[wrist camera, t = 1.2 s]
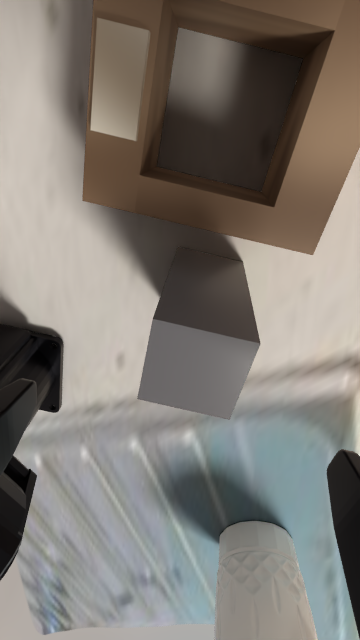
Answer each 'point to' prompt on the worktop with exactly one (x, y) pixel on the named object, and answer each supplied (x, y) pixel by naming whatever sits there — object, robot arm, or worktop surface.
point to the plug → (201, 336)
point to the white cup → (260, 586)
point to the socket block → (294, 139)
